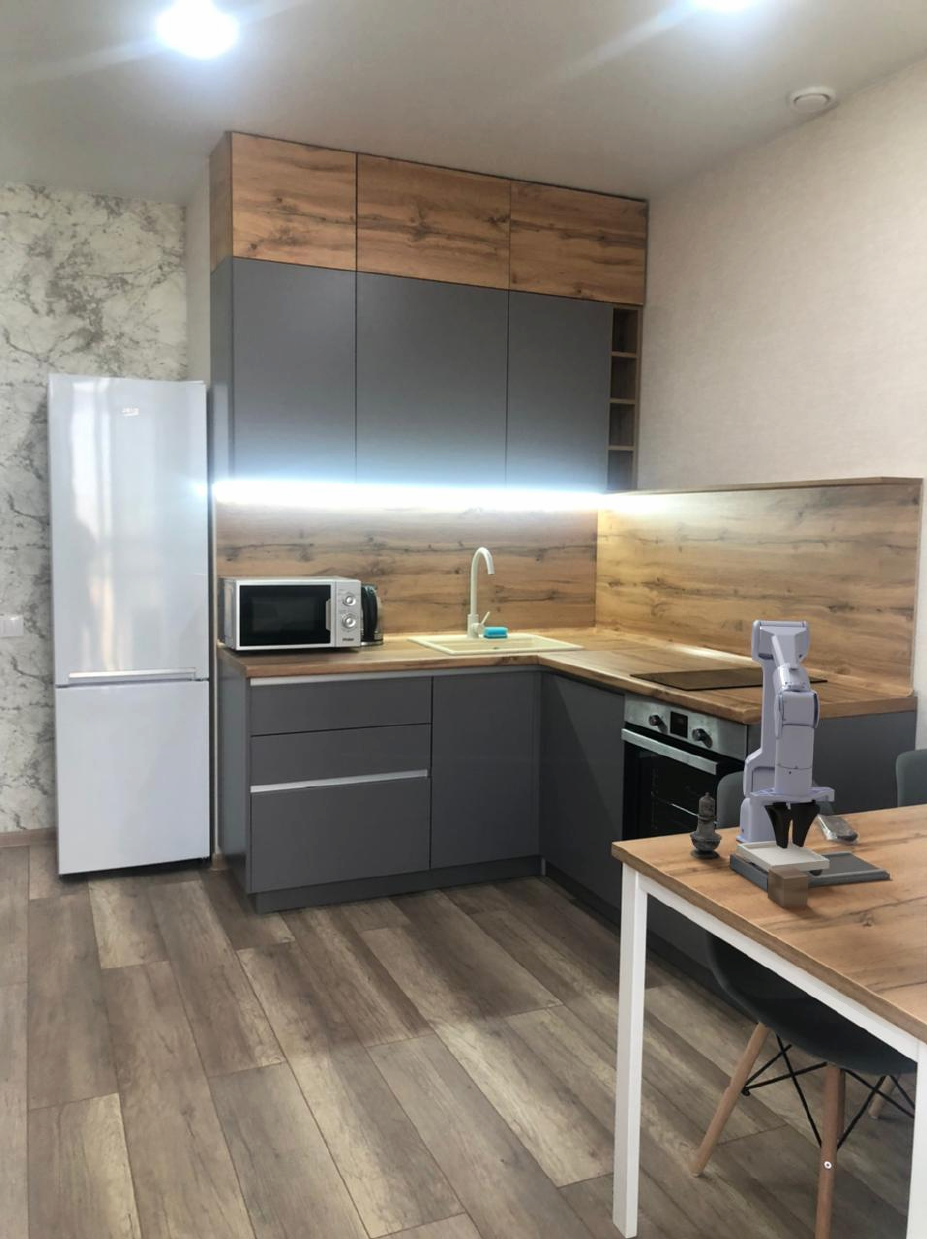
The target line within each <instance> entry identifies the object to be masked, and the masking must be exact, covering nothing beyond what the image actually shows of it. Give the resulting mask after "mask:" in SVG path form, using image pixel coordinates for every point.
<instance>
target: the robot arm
mask: <svg viewBox="0 0 927 1239" xmlns="http://www.w3.org/2000/svg"><path fill="white" fill-rule="evenodd" d="M751 625H752V627H751V633H750V634H751V637H750V638H751V639H750V640H751V642H750V643H751V646H750V651H751V652H750V656H751V660H752V661H753V662H754V663H758V664H760V667H761V669H762V674H763V677H762V678H763V679H762V704H761V706H762V707H761V725H760V726H761V730H760V748H758V749H757V750H755V751H754V752H752V753H751V754H749V755H747V757H746V759H745V760H744V770H743V779H742V780H743V783H742V785H743V786H742V787H743V788H742V789H743V795H744V796H745V798H744V799H743V801H742V803H741V805H740V818H739V822H740V823H739V835H735V837H734V838H735V840H737V841H739V842H740V843H741V844H744V843H755V842H766V841H776V844H777V846H779V847H781V848H783V849H787V847H788V840H789V839H790V838H789V837H790V827H791V824H792V828H791V838H792V842H793V844H795V845H797V846H798V847H803V846H805V845H804V844H805V842H806V840H807V836H808V834H809V830H810V828H811V827H812V824H813V822H814V821H815V819H816V818H817V816H818V815H819V814H820V813H821V806H820V805H819V804H817V803H816V802H822V801H826V802H835V789H833V788H831V787H828V786H812V781H813V780H812V779H813V778H812V777H813V759H814V758H813V757H814V742H815V741H814V740H815V737H814V736H815V729H816V728H818V724H819V720H820V712H821V711H820V698H819V694H818V692H817V691H816V690H815V689H812V687H811V683H810V678H809V673H808V670H807V669H806V668H805V667H804V666H803V665H801V664H800V663H802V662H803V660H804V659H805V657H806V656H807V654H808V653H809V650H810V646H811V645H810V644H811V630H810V625H809V623H808V622H807V621H805V620H802V621H787V620H786V621H785V620H783V621H781V620H760V619H755V620H754V622H753V623H752V624H751ZM814 728H815V729H814ZM791 822H792V823H791Z"/></svg>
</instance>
